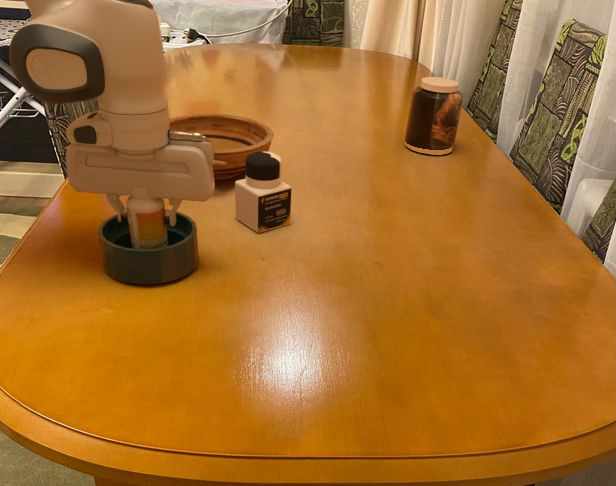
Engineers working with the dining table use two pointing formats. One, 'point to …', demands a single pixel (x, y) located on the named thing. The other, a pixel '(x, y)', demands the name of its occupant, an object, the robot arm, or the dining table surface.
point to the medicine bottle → (263, 193)
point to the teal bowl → (149, 252)
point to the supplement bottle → (146, 220)
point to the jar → (434, 114)
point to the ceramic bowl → (227, 139)
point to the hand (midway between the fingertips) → (147, 222)
